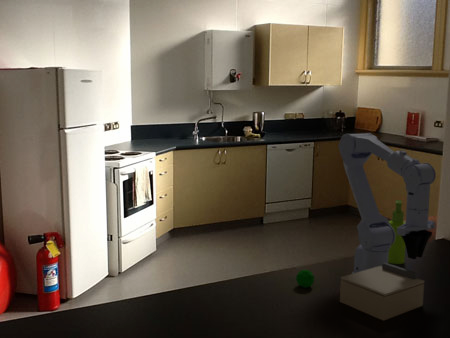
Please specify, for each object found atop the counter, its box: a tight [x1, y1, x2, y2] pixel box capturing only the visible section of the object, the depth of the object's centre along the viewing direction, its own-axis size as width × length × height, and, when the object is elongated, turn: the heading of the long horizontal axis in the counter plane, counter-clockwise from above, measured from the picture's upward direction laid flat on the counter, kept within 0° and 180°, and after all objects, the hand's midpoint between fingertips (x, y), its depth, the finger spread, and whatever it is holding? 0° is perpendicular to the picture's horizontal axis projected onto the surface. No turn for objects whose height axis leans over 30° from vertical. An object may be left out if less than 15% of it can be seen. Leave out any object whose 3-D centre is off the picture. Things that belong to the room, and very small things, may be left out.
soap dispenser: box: [388, 199, 406, 265], centre depth 174 cm, size 6×7×20 cm
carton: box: [339, 279, 425, 321], centre depth 139 cm, size 14×16×6 cm
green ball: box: [295, 269, 315, 289], centre depth 151 cm, size 5×5×5 cm
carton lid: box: [340, 263, 425, 296], centre depth 139 cm, size 14×16×2 cm
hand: (414, 257), depth 145 cm, fingers open, 2 cm apart
